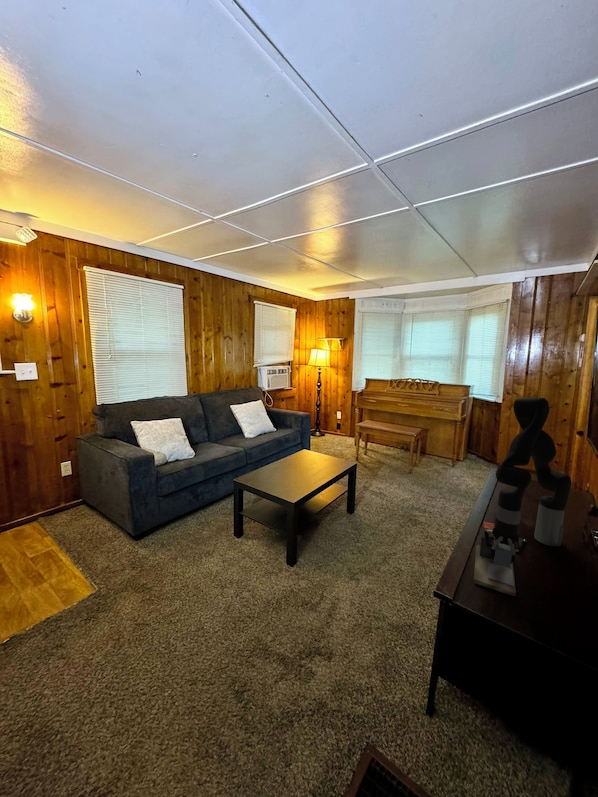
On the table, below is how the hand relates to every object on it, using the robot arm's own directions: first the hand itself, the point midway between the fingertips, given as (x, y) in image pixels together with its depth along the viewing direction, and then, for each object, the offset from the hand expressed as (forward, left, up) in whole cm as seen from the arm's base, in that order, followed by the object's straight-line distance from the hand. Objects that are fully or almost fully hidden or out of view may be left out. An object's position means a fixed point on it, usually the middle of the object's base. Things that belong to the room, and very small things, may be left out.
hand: (501, 559), depth 121 cm
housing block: (0, 0, -1) cm, 1 cm away
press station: (+2, -5, -8) cm, 9 cm away
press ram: (+4, -12, -1) cm, 13 cm away
